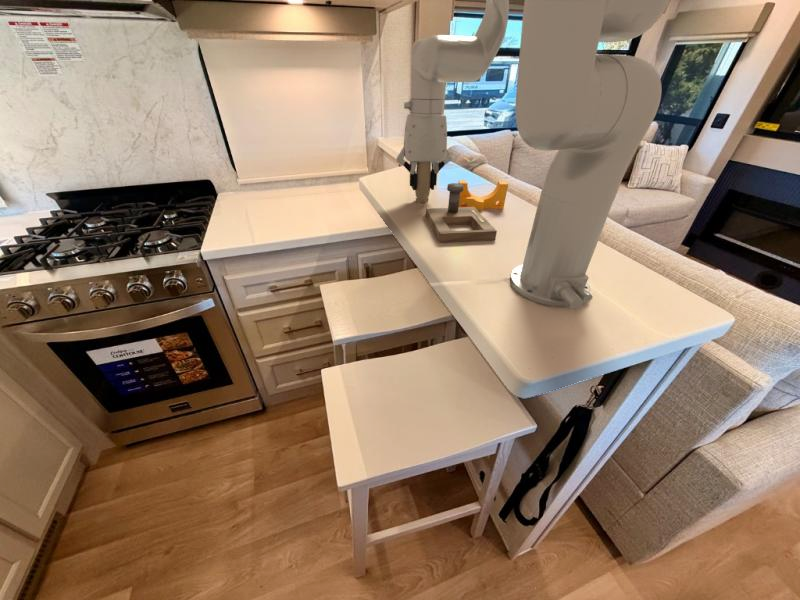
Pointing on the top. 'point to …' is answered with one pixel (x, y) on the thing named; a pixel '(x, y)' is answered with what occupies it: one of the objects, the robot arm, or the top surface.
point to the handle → (423, 181)
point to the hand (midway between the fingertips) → (422, 187)
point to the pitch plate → (459, 220)
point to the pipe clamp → (484, 197)
